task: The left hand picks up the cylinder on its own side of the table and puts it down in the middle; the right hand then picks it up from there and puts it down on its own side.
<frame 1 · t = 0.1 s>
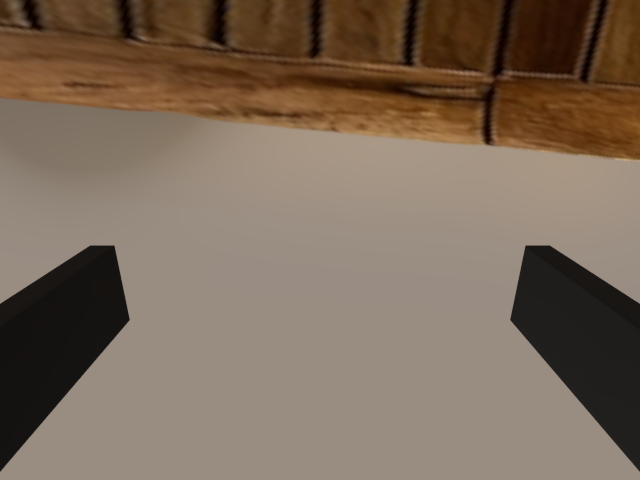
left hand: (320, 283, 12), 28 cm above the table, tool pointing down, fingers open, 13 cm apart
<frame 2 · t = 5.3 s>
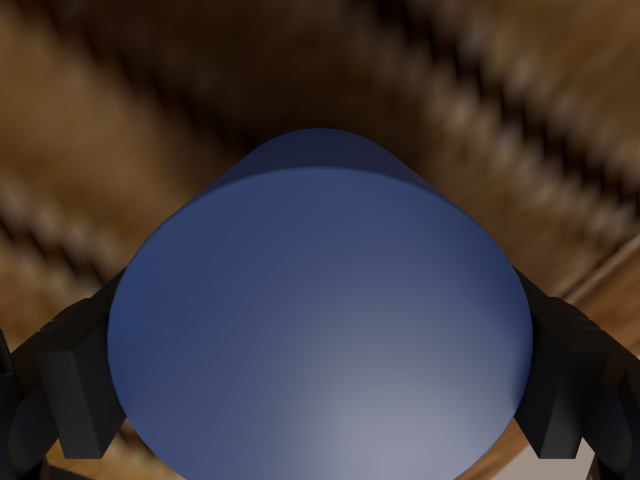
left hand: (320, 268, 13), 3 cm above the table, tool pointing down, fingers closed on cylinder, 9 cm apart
cylinder: (320, 238, 16), on the table, touching left hand
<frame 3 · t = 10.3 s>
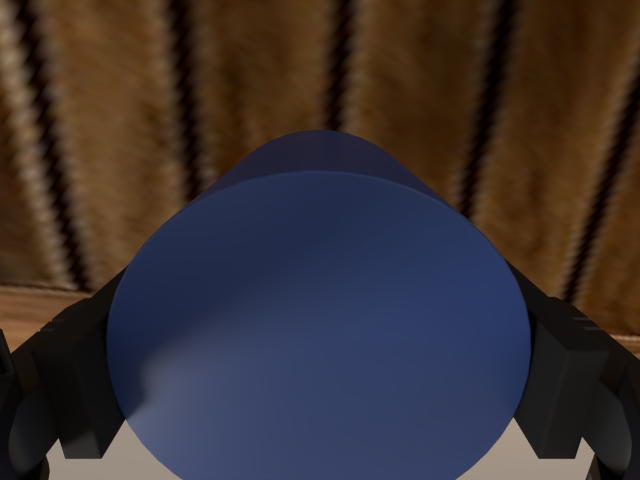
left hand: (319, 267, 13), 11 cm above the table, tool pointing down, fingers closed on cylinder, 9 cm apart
cylinder: (319, 239, 16), point 8 cm above the table, touching left hand
when the left hand's fingers open (4 cm above the table, at t = 15.6 s): cylinder drops 1 cm, on the table.
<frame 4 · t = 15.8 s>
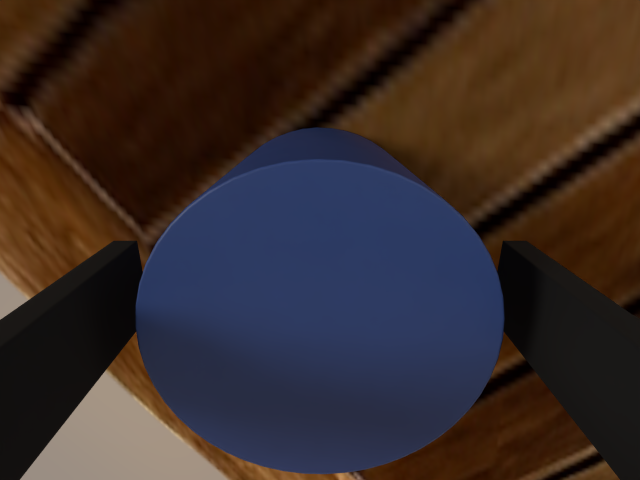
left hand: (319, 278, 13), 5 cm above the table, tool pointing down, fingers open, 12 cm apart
cylinder: (319, 230, 18), on the table
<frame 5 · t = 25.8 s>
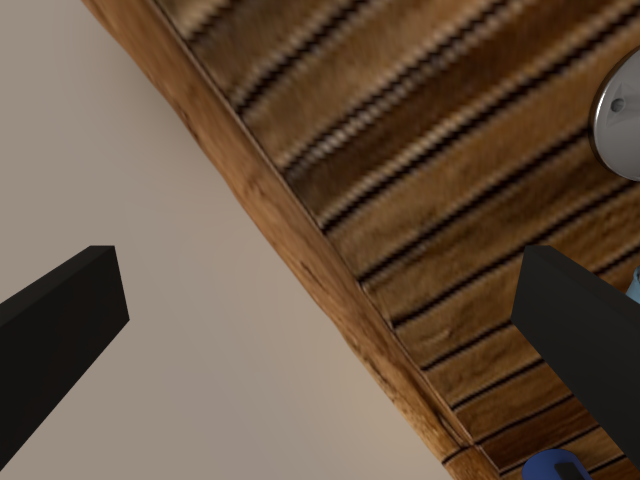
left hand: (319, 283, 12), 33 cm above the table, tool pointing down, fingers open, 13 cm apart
cylinder: (550, 469, 61), on the table, touching right hand
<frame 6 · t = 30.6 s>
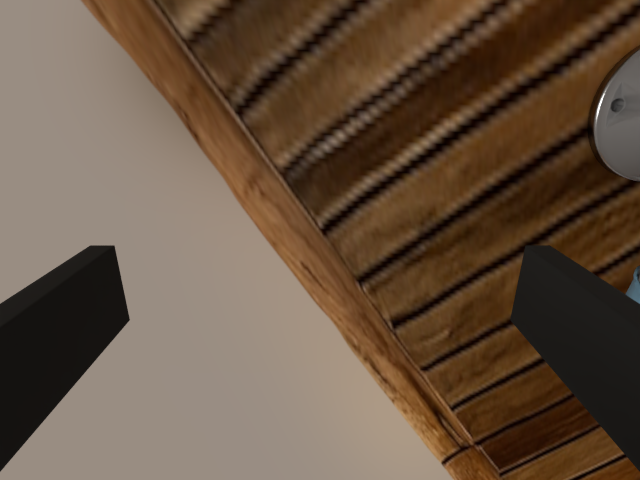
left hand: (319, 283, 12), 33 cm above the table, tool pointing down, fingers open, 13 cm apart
when the right hand's fingers open (4 cm above the table, at t = 35.5 s): cylinder drops 1 cm, on the table.
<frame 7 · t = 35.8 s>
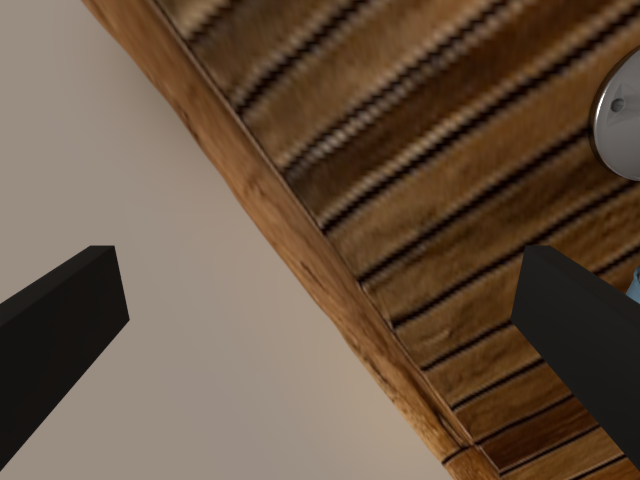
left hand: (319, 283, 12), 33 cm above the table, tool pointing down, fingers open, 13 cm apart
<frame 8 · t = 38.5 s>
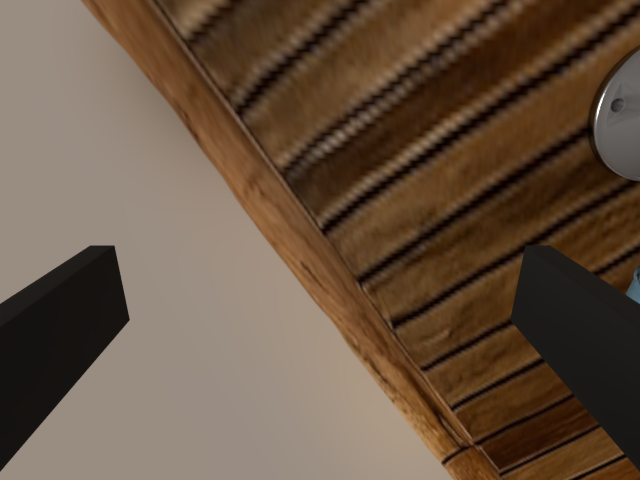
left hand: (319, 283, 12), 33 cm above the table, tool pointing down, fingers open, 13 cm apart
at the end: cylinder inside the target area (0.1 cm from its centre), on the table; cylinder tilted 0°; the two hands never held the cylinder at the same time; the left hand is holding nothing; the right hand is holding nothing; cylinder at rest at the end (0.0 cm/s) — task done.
